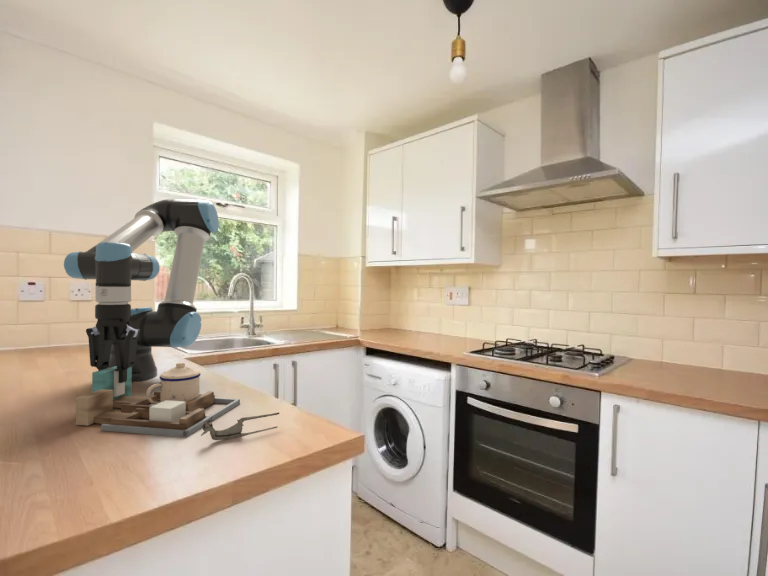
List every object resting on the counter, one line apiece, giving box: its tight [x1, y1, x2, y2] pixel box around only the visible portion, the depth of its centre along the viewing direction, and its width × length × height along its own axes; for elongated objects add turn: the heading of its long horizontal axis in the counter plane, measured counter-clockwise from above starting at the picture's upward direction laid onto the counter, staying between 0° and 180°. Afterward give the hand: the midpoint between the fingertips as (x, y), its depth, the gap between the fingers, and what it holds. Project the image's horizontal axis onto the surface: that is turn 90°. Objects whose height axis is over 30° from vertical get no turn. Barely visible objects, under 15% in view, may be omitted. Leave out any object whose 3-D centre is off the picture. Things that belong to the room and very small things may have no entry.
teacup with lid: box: [145, 361, 201, 405], centre depth 96 cm, size 12×9×12 cm
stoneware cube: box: [148, 400, 186, 423], centre depth 86 cm, size 5×5×5 cm
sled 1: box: [91, 366, 216, 413], centre depth 98 cm, size 12×26×9 cm, turn 83°
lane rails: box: [100, 397, 241, 438], centre depth 92 cm, size 22×20×1 cm
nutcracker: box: [200, 412, 280, 441], centre depth 81 cm, size 16×1×5 cm, turn 127°
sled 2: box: [75, 389, 206, 430], centre depth 87 cm, size 8×26×6 cm, turn 83°
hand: (112, 394), depth 99 cm, fingers closed on sled 1, 3 cm apart
